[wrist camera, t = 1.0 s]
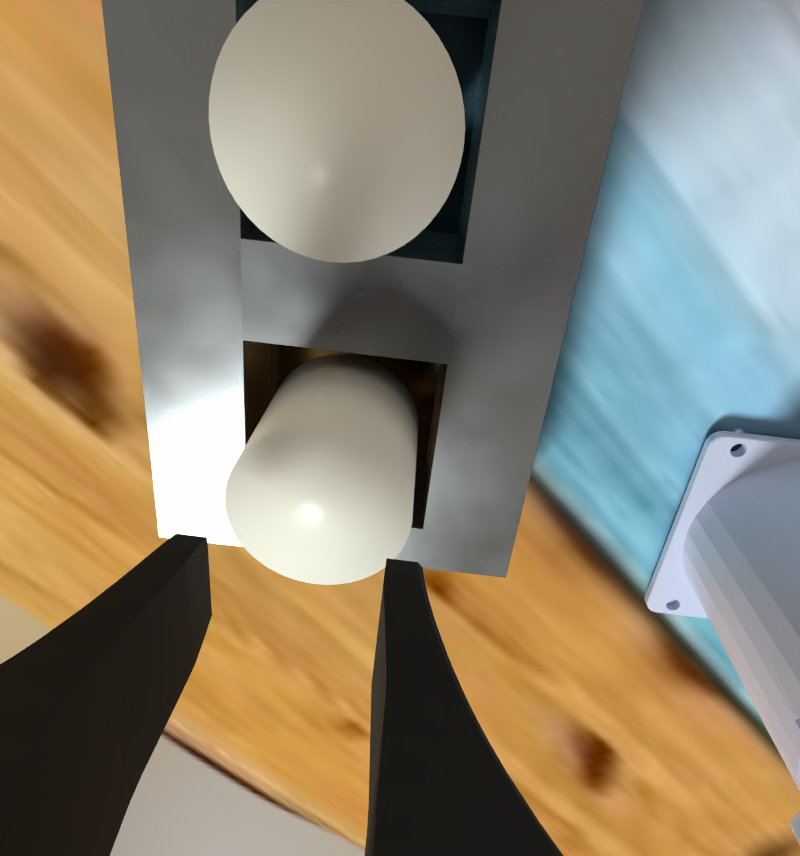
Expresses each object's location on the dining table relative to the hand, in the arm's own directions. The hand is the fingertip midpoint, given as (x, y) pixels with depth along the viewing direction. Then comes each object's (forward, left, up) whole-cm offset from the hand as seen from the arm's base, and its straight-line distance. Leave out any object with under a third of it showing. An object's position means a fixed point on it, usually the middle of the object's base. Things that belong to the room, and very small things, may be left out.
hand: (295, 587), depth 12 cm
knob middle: (0, -8, -7) cm, 11 cm away
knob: (0, 0, -7) cm, 7 cm away
